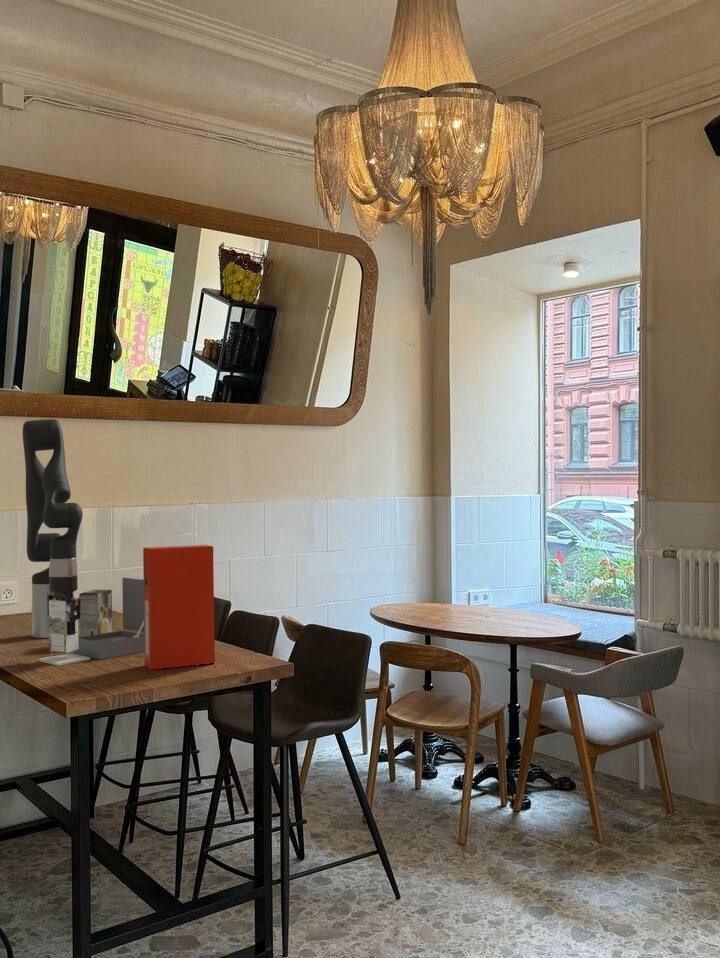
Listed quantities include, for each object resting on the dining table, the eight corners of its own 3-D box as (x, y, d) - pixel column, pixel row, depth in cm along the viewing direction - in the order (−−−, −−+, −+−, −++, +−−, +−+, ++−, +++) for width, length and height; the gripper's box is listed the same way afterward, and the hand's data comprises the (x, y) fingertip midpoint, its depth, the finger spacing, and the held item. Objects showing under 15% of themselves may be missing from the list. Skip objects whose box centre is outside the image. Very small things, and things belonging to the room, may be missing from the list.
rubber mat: (38, 660, 248) (38, 658, 248) (71, 655, 255) (71, 653, 255) (57, 665, 241) (57, 663, 241) (90, 659, 249) (90, 657, 249)
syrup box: (79, 649, 250) (78, 597, 250) (65, 653, 244) (65, 600, 244) (62, 648, 252) (61, 597, 252) (48, 652, 246) (48, 600, 246)
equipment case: (73, 653, 258) (73, 582, 258) (125, 644, 271) (124, 577, 271) (100, 659, 249) (99, 586, 249) (152, 650, 262) (152, 580, 262)
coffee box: (94, 640, 279) (93, 589, 279) (113, 640, 278) (112, 589, 278) (79, 645, 270) (78, 593, 270) (98, 646, 269) (98, 593, 269)
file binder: (144, 665, 241) (143, 547, 241) (206, 658, 248) (205, 544, 248) (151, 670, 233) (149, 549, 233) (214, 664, 241) (213, 546, 241)
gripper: (37, 573, 250) (38, 632, 250) (64, 577, 241) (65, 638, 241) (62, 571, 256) (62, 628, 256) (89, 574, 246) (89, 634, 246)
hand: (63, 633), depth 248 cm, fingers closed on syrup box, 7 cm apart
